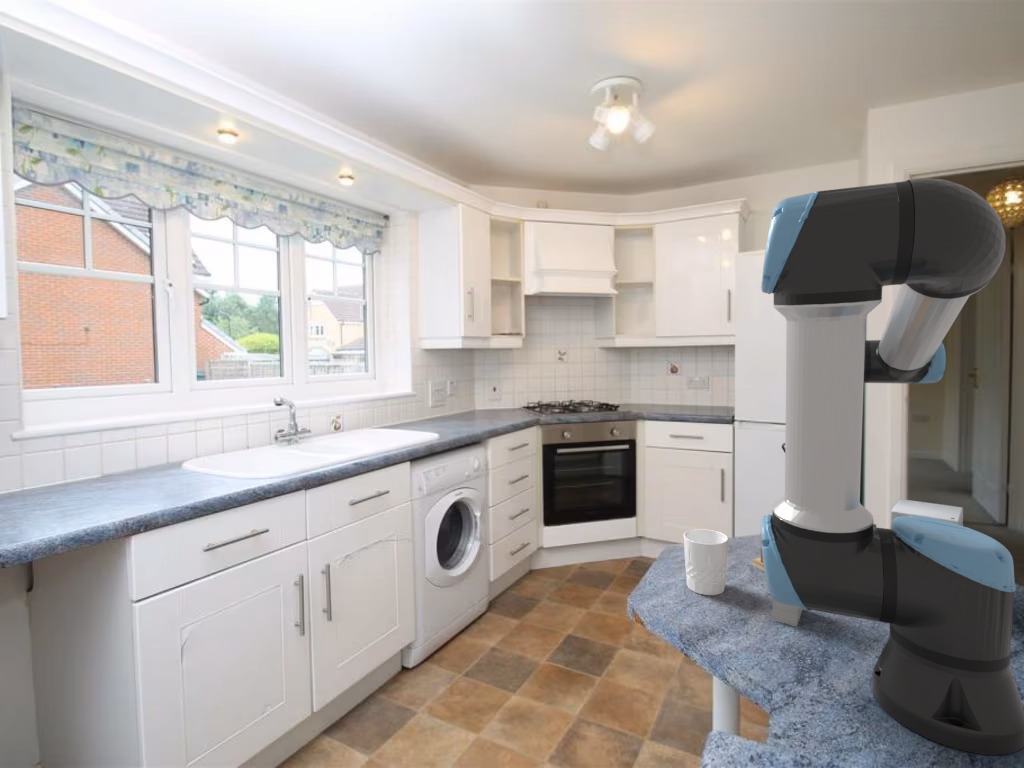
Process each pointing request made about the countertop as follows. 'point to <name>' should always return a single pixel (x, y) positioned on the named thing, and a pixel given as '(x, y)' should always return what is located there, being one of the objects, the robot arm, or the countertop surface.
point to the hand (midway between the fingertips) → (811, 522)
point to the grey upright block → (785, 613)
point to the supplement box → (927, 511)
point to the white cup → (705, 561)
